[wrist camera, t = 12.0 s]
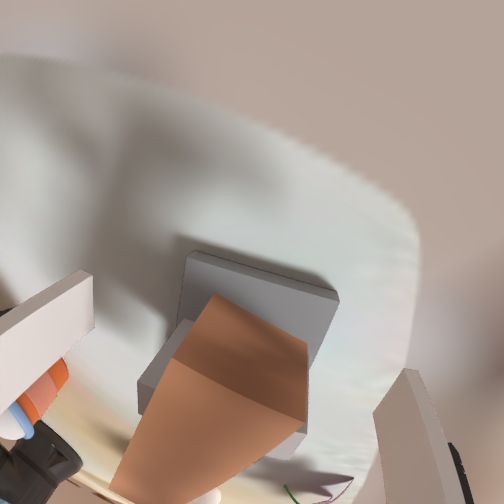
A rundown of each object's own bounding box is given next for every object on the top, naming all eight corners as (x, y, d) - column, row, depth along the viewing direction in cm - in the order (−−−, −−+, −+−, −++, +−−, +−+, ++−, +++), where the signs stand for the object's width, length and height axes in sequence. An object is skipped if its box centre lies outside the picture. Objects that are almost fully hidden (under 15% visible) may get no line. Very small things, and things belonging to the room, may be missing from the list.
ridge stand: (175, 375, 23) (134, 444, 15) (194, 250, 19) (128, 306, 11) (284, 408, 22) (273, 488, 14) (337, 291, 19) (355, 375, 11)
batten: (130, 450, 16) (108, 488, 12) (214, 292, 10) (171, 357, 7) (178, 475, 16) (161, 515, 12) (307, 343, 10) (305, 423, 7)
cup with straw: (85, 399, 28) (10, 491, 11) (39, 372, 29) (-35, 445, 12) (68, 344, 25) (-37, 443, 8) (21, 319, 26) (-73, 391, 9)
